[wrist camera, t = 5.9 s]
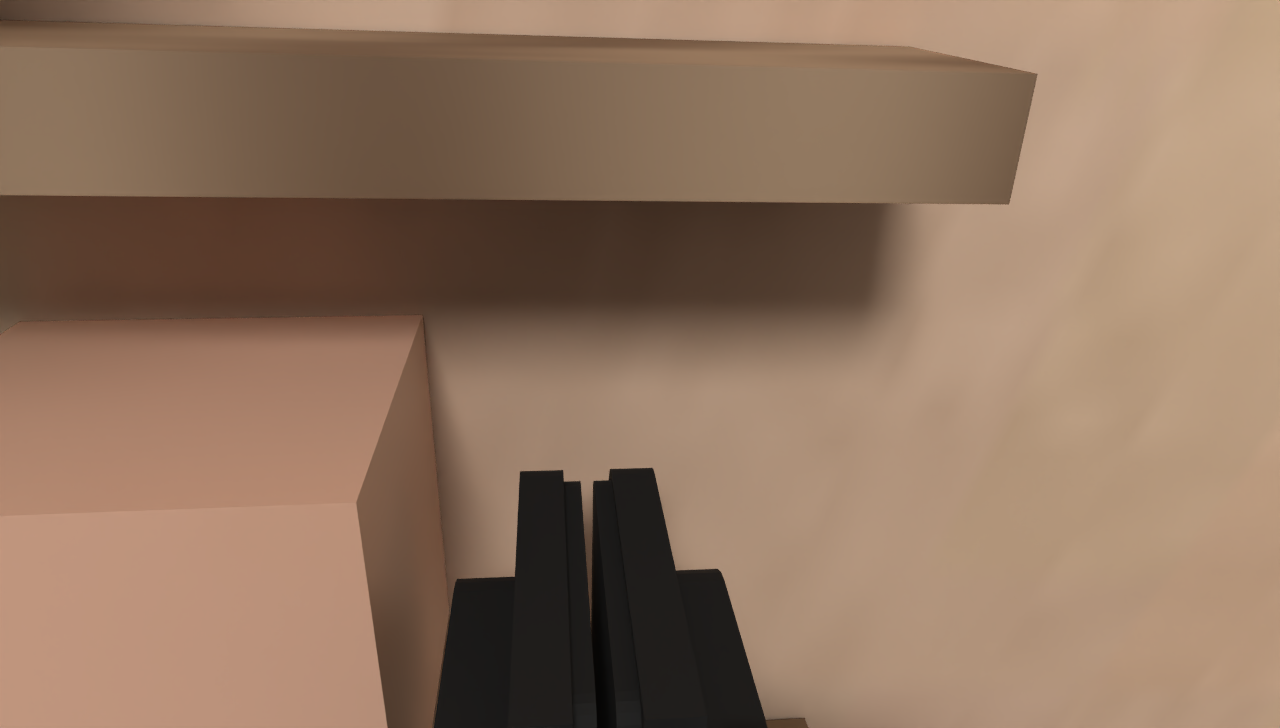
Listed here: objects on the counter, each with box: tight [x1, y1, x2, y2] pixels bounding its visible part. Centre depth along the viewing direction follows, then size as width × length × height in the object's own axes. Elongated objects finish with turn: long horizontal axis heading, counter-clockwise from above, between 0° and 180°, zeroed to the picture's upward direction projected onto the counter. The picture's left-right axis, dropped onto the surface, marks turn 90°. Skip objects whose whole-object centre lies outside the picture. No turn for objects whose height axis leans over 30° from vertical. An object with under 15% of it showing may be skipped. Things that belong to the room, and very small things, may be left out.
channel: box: [0, 20, 1037, 728], centre depth 12 cm, size 11×18×3 cm, turn 178°
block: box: [0, 315, 449, 728], centre depth 10 cm, size 5×5×4 cm
